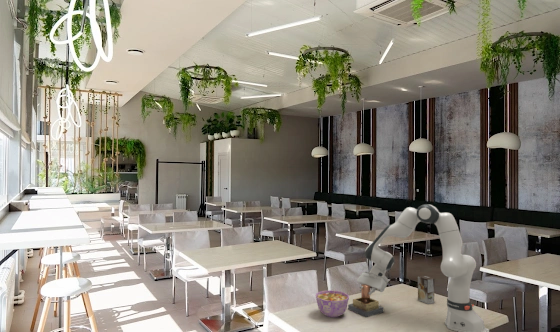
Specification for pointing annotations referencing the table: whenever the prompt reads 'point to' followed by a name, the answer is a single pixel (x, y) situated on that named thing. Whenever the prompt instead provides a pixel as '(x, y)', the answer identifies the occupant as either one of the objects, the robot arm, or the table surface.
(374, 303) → the grey square holder
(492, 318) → the table surface
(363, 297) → the spout can
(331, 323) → the table surface
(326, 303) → the bowl of food
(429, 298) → the coffee box
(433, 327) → the table surface
